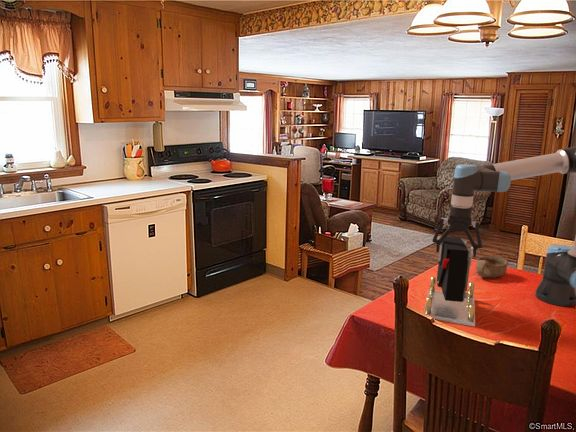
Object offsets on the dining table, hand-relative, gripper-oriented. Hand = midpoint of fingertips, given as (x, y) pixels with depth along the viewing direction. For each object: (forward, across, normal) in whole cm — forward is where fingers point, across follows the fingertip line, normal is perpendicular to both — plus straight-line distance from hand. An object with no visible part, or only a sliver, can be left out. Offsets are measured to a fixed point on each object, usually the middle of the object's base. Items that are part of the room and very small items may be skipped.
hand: (454, 262), depth 173 cm
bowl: (+19, -16, -45) cm, 52 cm away
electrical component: (+12, 0, 0) cm, 12 cm away
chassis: (+19, 0, 0) cm, 19 cm away
